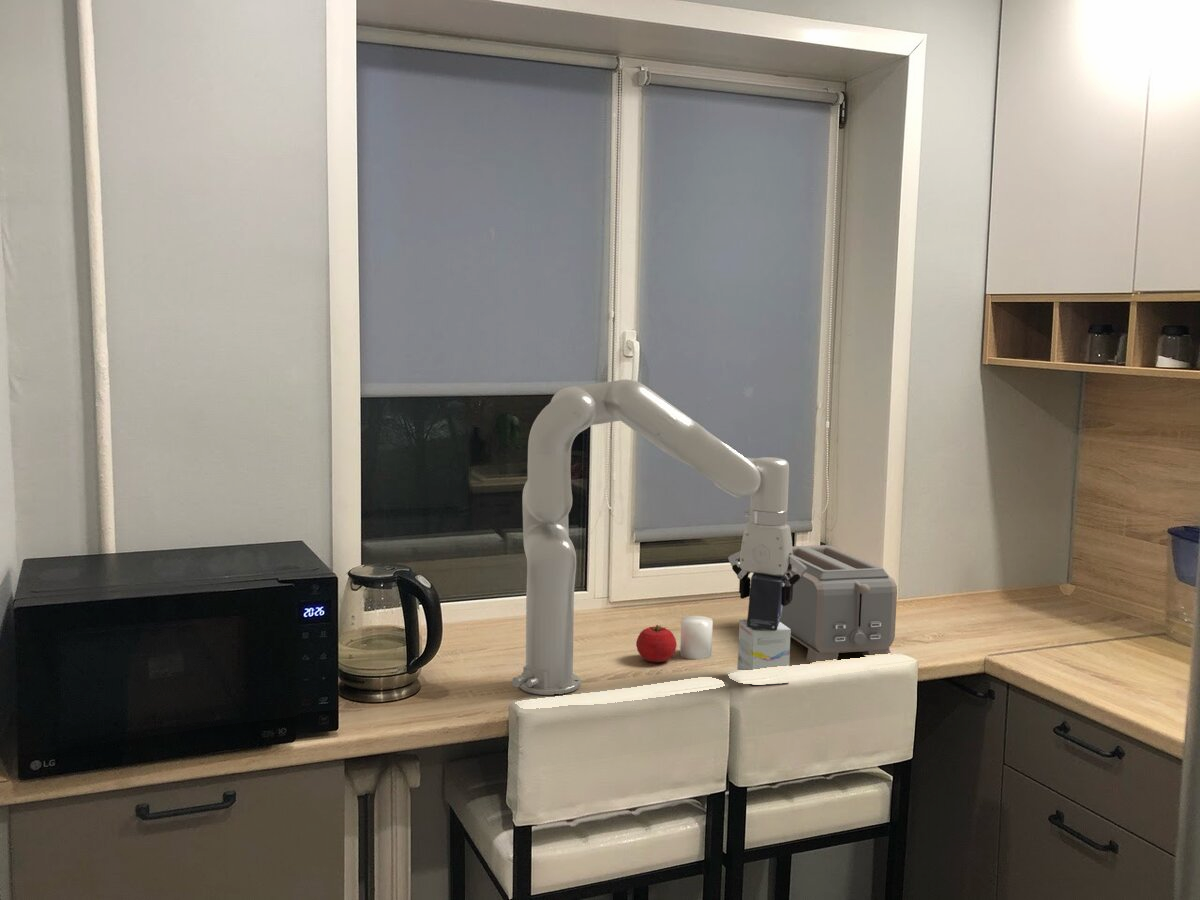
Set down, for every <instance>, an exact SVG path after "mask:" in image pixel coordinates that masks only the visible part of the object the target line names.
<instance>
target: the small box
mask: <svg viewBox="0 0 1200 900" xmlns="http://www.w3.org/2000/svg"><path fill="white" fill-rule="evenodd" d="M783 586H784V583H783V581H782V579H781V578H780V576H770V575H764V574H758V573H752V575H751V577H750V595H749V596H748V597H749V598H748V609H747V618H746V620H747V627H751V628H759V629H766V630H774V631H776V630H777V627H778V625H779V622H780V619H781V614H782V604H781V603H782V587H783Z"/></svg>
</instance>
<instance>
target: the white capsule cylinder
mask: <svg viewBox="0 0 1200 900" xmlns="http://www.w3.org/2000/svg"><path fill="white" fill-rule="evenodd" d="M713 620H714V619H712V618H711V617H708V616H704V615H685V616H683V617H681V619H680V642H679V644H680V647H679V648H680V649H679V650H680V651H679V652H680V653H679V655H680V656H681V657H682V658H685V659H687V660H696V661H699V660H700V661H701V660H702V659H703V660H708V659H711V658H712V655H713V653H712V652H713V625H714V624H713V623H714V621H713Z"/></svg>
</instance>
